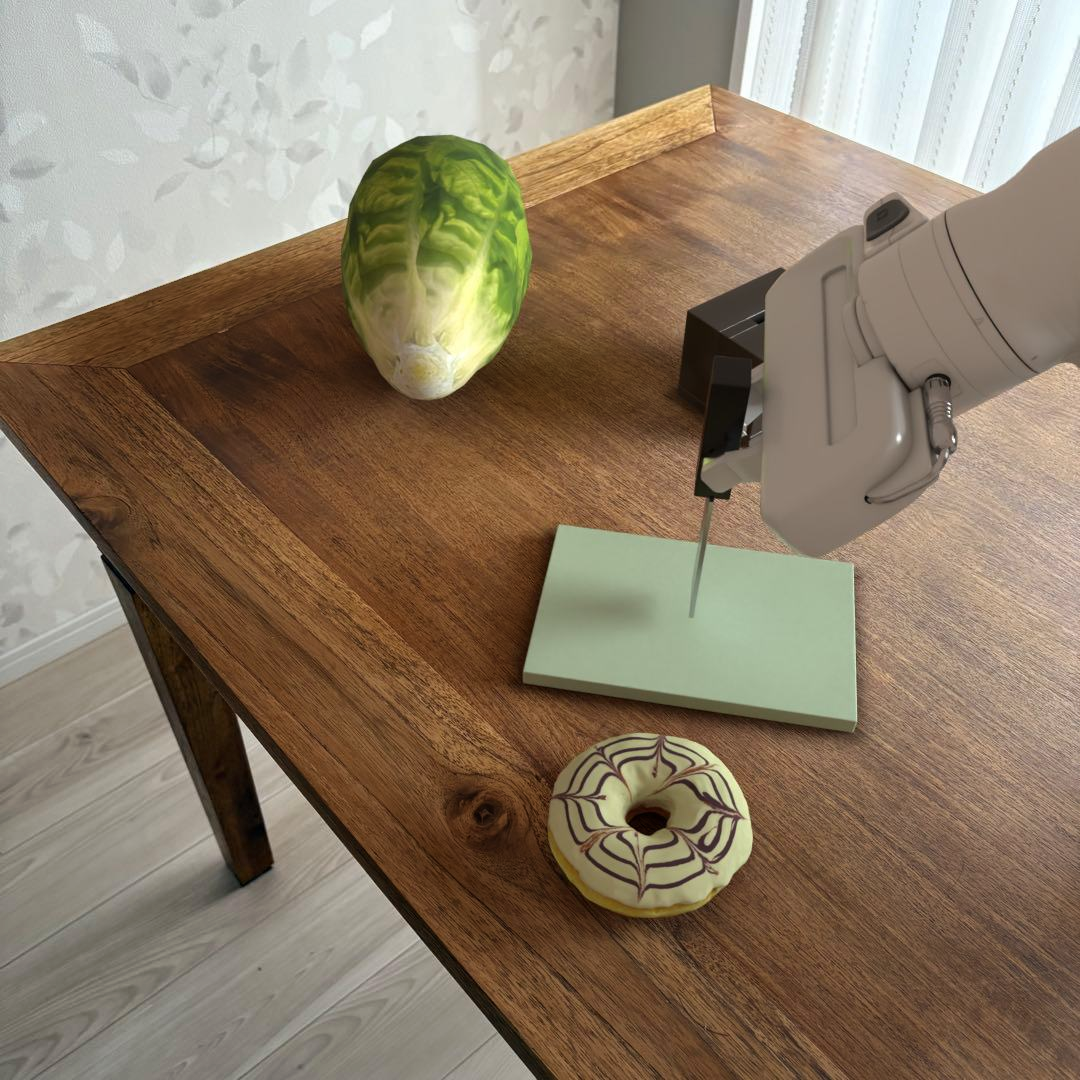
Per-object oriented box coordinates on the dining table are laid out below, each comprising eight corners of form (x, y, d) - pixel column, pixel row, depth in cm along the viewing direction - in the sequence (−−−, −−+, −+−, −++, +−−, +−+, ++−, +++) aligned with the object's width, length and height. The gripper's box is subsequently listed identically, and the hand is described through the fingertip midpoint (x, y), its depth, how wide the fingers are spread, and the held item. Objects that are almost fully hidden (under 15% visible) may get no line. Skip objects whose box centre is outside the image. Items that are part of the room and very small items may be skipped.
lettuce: (329, 456, 83) (298, 276, 72) (370, 264, 102) (351, 97, 90) (529, 458, 83) (529, 278, 72) (533, 265, 102) (534, 99, 90)
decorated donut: (784, 859, 60) (797, 823, 57) (631, 973, 56) (636, 940, 53) (660, 728, 66) (665, 690, 63) (512, 822, 62) (511, 785, 59)
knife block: (837, 398, 88) (859, 313, 83) (748, 447, 84) (764, 361, 78) (765, 350, 93) (780, 266, 87) (676, 395, 88) (686, 309, 83)
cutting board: (849, 575, 75) (853, 562, 74) (853, 733, 66) (857, 721, 65) (557, 535, 77) (558, 523, 76) (522, 683, 68) (522, 671, 67)
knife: (709, 584, 71) (752, 355, 58) (707, 620, 69) (751, 390, 56) (678, 580, 71) (713, 351, 58) (675, 616, 69) (711, 386, 56)
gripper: (1000, 510, 48) (739, 627, 56) (951, 256, 62) (748, 378, 70) (920, 419, 45) (657, 556, 53) (888, 174, 59) (685, 312, 67)
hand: (709, 453), depth 61 cm, fingers closed on knife, 2 cm apart
